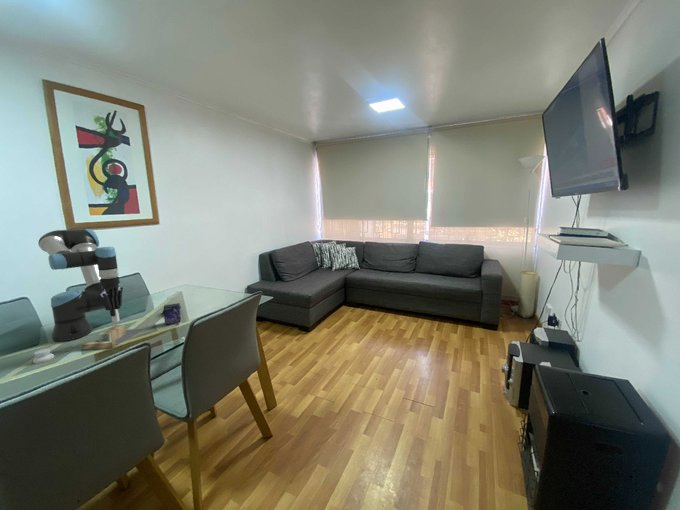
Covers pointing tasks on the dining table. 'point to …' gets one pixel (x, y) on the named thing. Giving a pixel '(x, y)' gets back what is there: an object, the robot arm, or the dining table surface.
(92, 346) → the strip
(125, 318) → the dining table surface
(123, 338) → the mat
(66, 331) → the robot arm
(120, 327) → the block
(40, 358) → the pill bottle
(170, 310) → the box
